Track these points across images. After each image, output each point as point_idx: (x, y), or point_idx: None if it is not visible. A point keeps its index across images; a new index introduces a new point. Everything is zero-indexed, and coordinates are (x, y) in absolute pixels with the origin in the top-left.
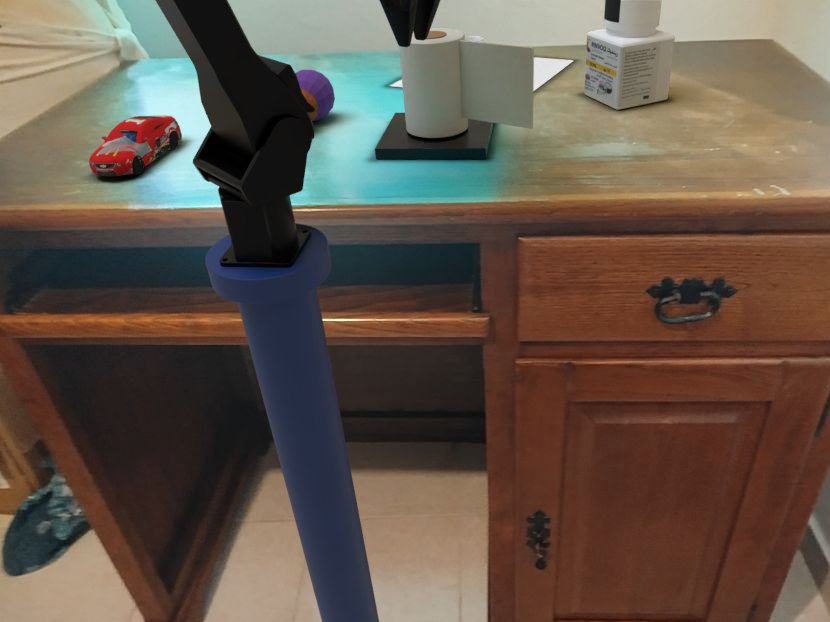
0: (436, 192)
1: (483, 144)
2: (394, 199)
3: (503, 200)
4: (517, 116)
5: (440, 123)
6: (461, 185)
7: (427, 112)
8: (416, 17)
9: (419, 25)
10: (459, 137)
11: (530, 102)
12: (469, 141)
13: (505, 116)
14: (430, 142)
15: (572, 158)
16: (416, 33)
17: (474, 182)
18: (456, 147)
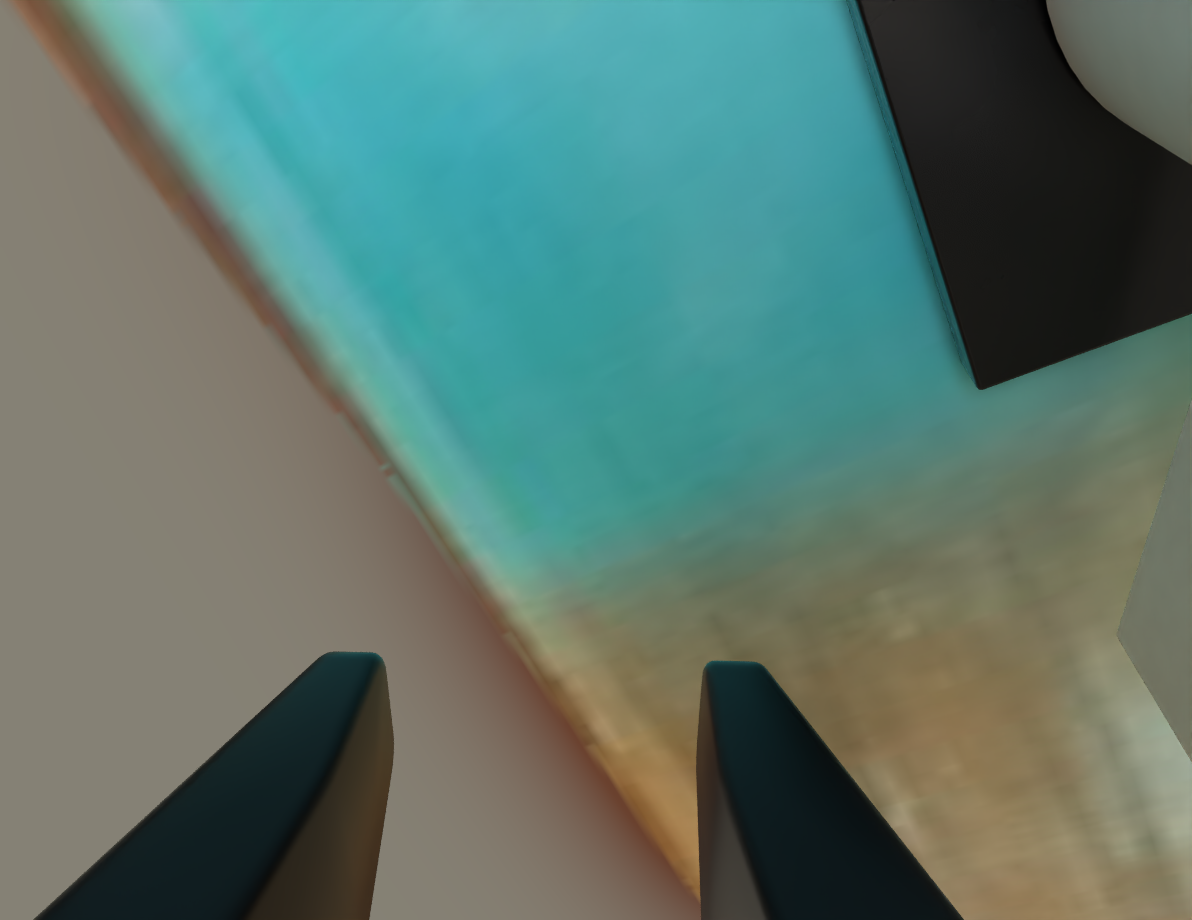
0: (463, 346)
1: (1037, 355)
2: (278, 200)
3: (535, 627)
4: (1162, 599)
5: (1108, 86)
6: (595, 410)
7: (1113, 14)
8: (732, 914)
9: (710, 858)
10: (1134, 156)
11: (1181, 734)
12: (1069, 256)
13: (1184, 520)
14: (992, 16)
15: (1084, 691)
16: (707, 730)
17: (654, 446)
18: (945, 234)
